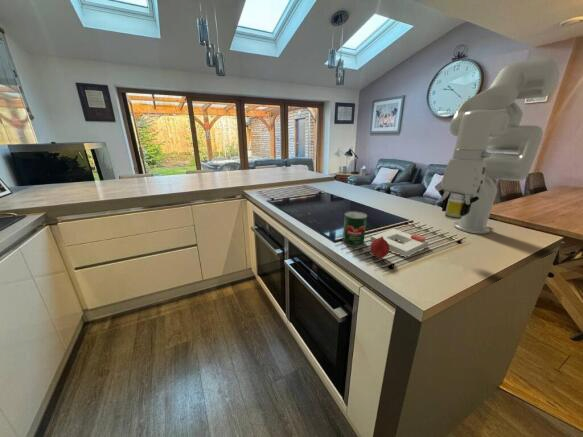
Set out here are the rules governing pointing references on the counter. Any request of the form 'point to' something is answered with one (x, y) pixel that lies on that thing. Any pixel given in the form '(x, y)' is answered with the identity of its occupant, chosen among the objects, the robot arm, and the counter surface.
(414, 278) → the counter surface
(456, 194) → the supplement bottle
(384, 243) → the onion
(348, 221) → the canned tomato
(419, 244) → the socket plate
